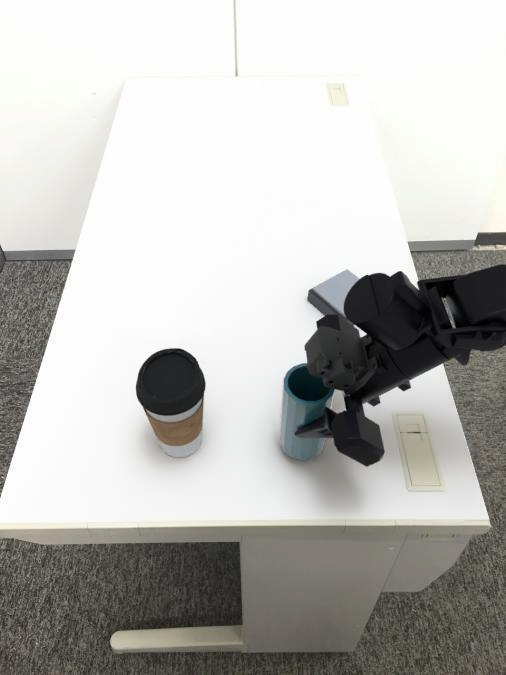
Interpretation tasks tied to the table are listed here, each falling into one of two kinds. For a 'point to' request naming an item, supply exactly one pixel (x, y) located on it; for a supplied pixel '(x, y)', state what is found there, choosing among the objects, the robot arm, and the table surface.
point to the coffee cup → (173, 399)
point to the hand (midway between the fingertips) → (294, 413)
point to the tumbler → (302, 411)
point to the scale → (333, 294)
